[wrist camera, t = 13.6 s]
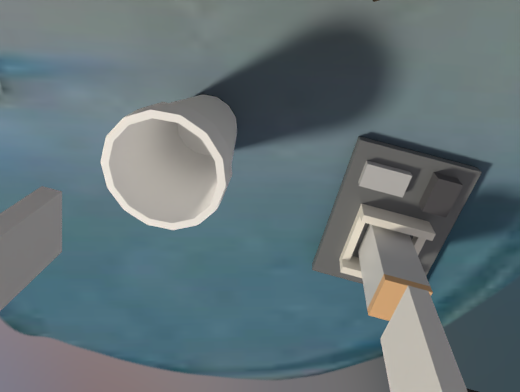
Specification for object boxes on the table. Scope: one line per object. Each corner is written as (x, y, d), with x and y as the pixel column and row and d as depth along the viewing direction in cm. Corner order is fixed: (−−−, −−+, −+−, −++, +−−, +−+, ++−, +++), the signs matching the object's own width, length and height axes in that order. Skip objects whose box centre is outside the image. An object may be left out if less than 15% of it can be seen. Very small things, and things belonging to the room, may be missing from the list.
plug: (370, 220, 41) (385, 279, 33) (407, 230, 41) (432, 292, 32) (357, 251, 43) (368, 315, 34) (393, 260, 43) (413, 327, 34)
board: (358, 136, 39) (362, 148, 36) (477, 167, 39) (492, 182, 36) (312, 263, 46) (312, 283, 43) (412, 291, 46) (419, 313, 43)
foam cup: (268, 145, 41) (249, 201, 29) (195, 182, 44) (151, 246, 32) (220, 60, 38) (176, 84, 26) (145, 106, 41) (76, 146, 29)
